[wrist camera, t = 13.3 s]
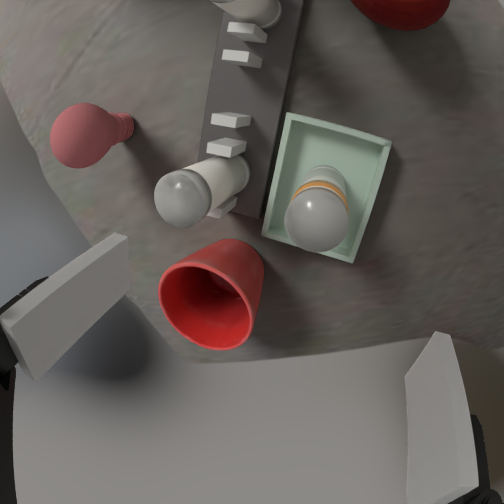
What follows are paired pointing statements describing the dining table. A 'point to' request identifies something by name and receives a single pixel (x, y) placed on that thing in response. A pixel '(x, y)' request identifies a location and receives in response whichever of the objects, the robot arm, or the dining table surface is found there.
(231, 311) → the flower pot
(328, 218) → the cylinder
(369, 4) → the apple
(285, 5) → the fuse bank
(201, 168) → the fuse
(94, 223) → the dining table surface
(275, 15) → the white rounded cylinder
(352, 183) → the tray
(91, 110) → the light bulb
